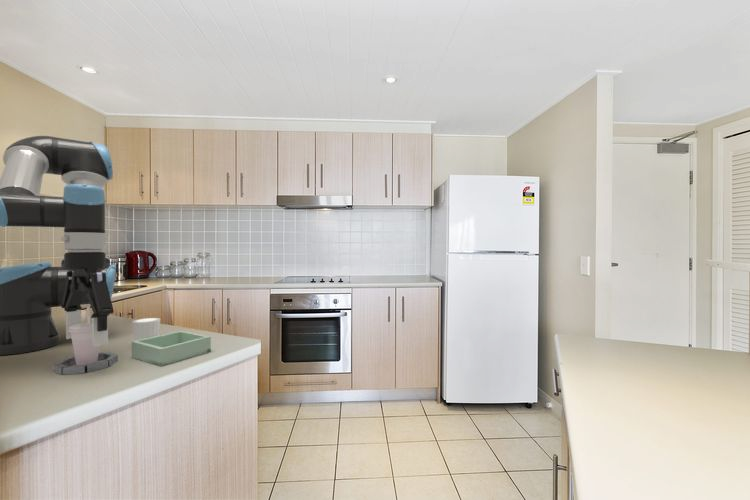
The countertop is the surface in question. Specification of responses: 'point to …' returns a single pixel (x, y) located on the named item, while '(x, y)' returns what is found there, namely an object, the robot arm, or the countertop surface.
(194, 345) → the bin
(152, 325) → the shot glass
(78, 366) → the collar
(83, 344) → the smoothie
